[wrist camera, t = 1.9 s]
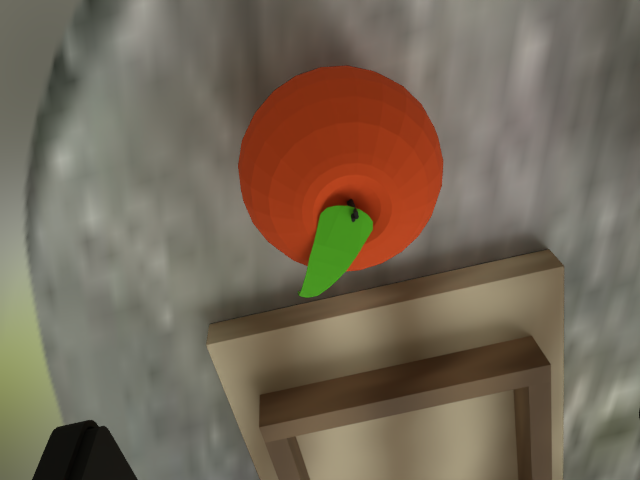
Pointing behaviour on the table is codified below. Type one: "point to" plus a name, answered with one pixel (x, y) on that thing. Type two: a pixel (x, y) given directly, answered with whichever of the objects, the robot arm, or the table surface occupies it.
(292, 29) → the table surface
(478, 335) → the board
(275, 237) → the clementine
